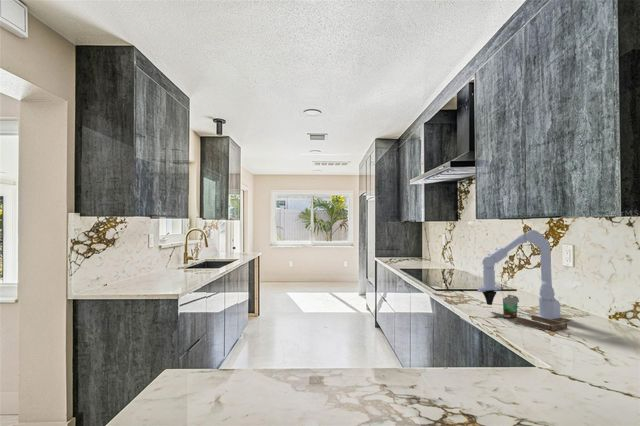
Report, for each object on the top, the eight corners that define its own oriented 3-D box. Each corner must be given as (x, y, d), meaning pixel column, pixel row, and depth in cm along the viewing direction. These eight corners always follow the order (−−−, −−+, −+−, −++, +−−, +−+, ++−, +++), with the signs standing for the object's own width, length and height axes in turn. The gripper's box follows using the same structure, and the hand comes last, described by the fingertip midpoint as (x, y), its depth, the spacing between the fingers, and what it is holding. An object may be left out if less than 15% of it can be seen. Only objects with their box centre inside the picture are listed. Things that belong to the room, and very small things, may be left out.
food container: (516, 320, 183) (516, 299, 184) (502, 318, 187) (502, 298, 187) (521, 315, 193) (521, 295, 193) (508, 313, 197) (507, 294, 197)
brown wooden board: (532, 319, 186) (532, 315, 186) (567, 327, 170) (567, 323, 170) (516, 321, 182) (516, 317, 182) (550, 330, 166) (550, 326, 166)
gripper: (493, 277, 210) (493, 302, 210) (473, 279, 204) (473, 304, 204) (503, 279, 204) (504, 304, 203) (483, 280, 198) (483, 307, 198)
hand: (489, 304), depth 203 cm, fingers closed
